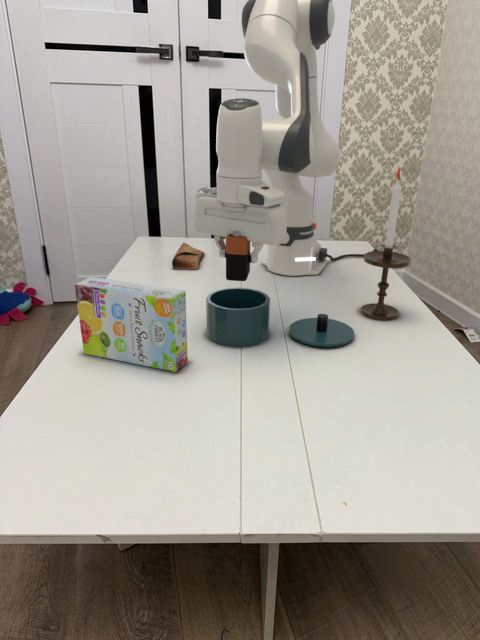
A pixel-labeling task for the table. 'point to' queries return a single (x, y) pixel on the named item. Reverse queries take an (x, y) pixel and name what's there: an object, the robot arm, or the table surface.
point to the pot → (237, 317)
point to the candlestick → (386, 262)
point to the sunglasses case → (187, 258)
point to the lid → (321, 331)
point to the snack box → (133, 322)
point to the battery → (237, 257)
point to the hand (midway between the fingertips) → (238, 259)
